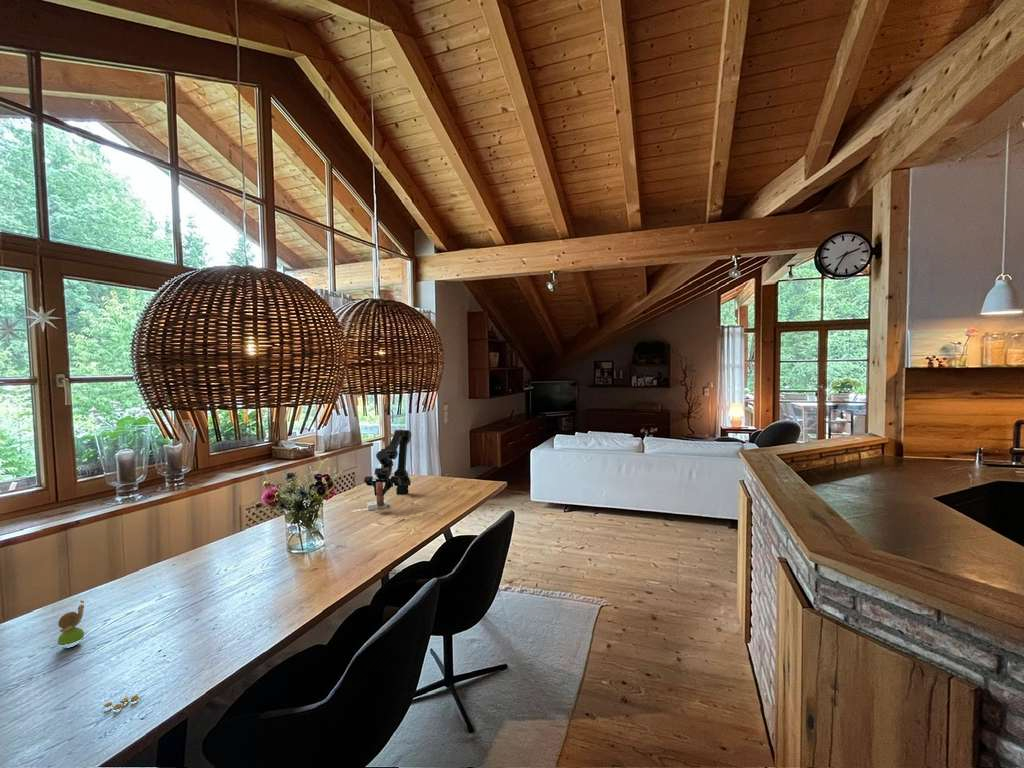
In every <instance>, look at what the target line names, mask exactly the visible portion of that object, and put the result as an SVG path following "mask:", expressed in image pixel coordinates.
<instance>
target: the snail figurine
mask: <svg viewBox="0 0 1024 768" xmlns="http://www.w3.org/2000/svg"><path fill="white" fill-rule="evenodd" d="M84 602H85V601H84V600H80V603H81V604H80V605H79V606H78V607H77V610H78V611H77V612H75V611H68V612H66V613H64V614H63V615H62V616H61V617H60V619H59V620H58V628H60V630H59V632H60V633H61V634H60V635H59V636H58V638H57V644H58V646H59V645H65V644H70V643H73V642H76V641H78V640H80V639H81V638H83V639H84V637H85V631H84V630H83V629H82V628H81V627H78V625H79V623H80V622H82V621H81V620H82V619H83V616H84V609H85V605H84ZM76 626H77V627H76ZM83 636H84V637H83Z"/></svg>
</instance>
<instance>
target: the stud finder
mask: <svg viewBox="0 0 1024 768" xmlns="http://www.w3.org/2000/svg"><path fill="white" fill-rule="evenodd" d="M384 504H385V505H386V508H385V509H387V508H388V503H387V500H386V499H384ZM376 505H377V500H375V501H369V502H366V509H367V511H375V510H377V509H376Z"/></svg>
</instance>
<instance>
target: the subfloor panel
mask: <svg viewBox="0 0 1024 768" xmlns="http://www.w3.org/2000/svg"><path fill="white" fill-rule="evenodd" d="M364 510H367V511H368V509H367V508H359V509H353V510H350V512H353V513H354V512H355V513H356V512H361V511H364Z"/></svg>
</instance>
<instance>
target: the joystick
mask: <svg viewBox="0 0 1024 768" xmlns="http://www.w3.org/2000/svg"><path fill="white" fill-rule="evenodd" d="M383 489H384V483H383V482H377V483H376V496H375V497H376V501H377V505H376V509H375V510H380V511H381V510H385V509H387V508H386V505H385V504H384V500H385V498H384V496H385V495H384V496H382V492H383Z"/></svg>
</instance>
